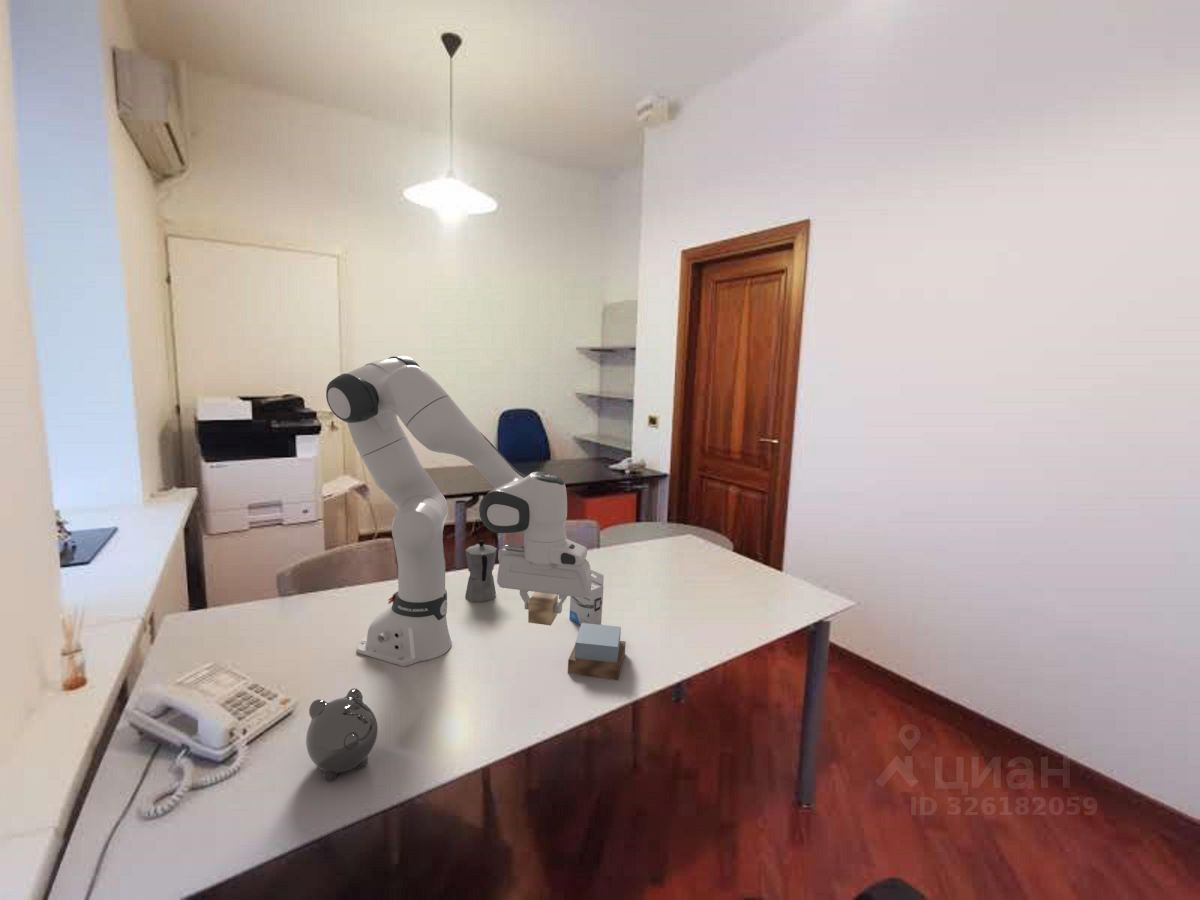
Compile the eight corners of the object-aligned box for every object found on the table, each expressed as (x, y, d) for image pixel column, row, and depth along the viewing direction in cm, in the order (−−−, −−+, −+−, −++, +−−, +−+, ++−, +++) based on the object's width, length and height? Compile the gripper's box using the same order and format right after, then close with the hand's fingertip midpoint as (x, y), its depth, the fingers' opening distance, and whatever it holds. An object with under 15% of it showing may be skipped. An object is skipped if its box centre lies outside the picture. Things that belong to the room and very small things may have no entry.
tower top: (574, 658, 128) (575, 642, 127) (580, 637, 138) (581, 622, 137) (616, 662, 127) (617, 646, 126) (620, 641, 137) (620, 626, 136)
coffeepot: (463, 588, 172) (463, 534, 169) (493, 586, 175) (494, 532, 172) (467, 610, 157) (468, 550, 154) (500, 606, 160) (501, 548, 158)
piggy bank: (363, 728, 105) (362, 674, 104) (388, 775, 94) (387, 715, 92) (299, 751, 99) (296, 693, 97) (317, 805, 87) (315, 741, 85)
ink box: (568, 619, 155) (570, 570, 152) (580, 614, 158) (582, 566, 156) (589, 630, 149) (592, 579, 147) (602, 624, 152) (604, 574, 150)
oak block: (528, 622, 115) (528, 600, 114) (535, 612, 120) (535, 590, 119) (550, 625, 114) (551, 603, 113) (557, 614, 119) (557, 593, 118)
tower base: (567, 675, 128) (568, 659, 127) (578, 649, 140) (579, 635, 139) (617, 682, 126) (618, 666, 125) (624, 656, 137) (625, 641, 137)
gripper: (492, 548, 113) (492, 610, 116) (588, 559, 110) (585, 623, 112) (503, 539, 119) (502, 598, 122) (594, 549, 116) (591, 609, 118)
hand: (543, 610), depth 117 cm, fingers closed on oak block, 5 cm apart
